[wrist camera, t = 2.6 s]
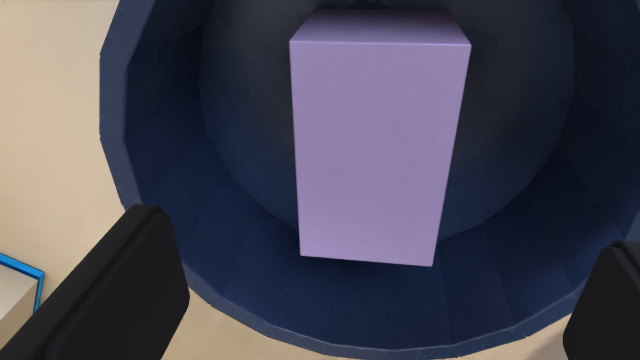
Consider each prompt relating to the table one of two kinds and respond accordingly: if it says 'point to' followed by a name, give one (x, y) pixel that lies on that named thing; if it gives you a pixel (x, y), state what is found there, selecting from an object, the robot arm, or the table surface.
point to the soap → (375, 130)
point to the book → (17, 296)
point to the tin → (462, 185)
